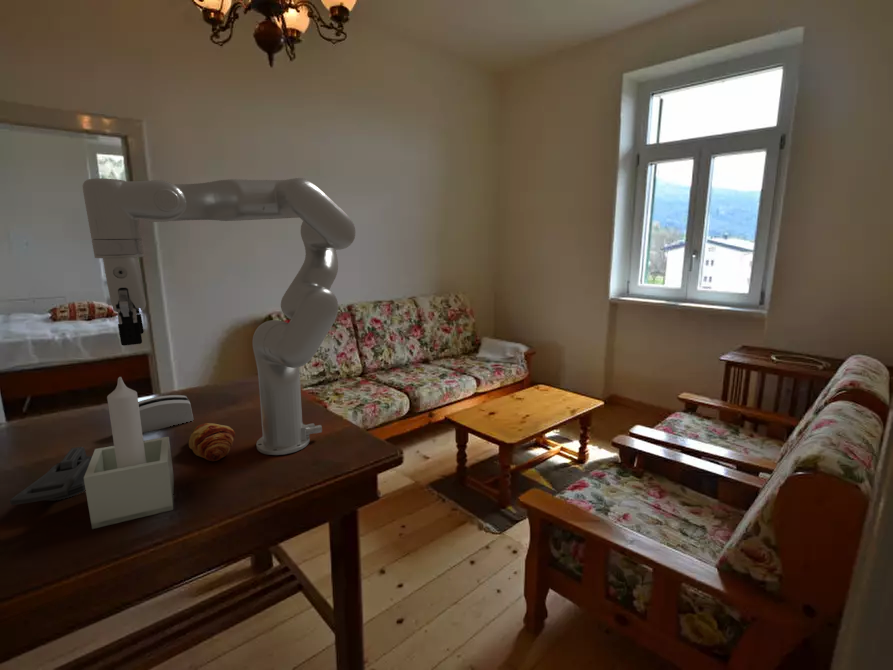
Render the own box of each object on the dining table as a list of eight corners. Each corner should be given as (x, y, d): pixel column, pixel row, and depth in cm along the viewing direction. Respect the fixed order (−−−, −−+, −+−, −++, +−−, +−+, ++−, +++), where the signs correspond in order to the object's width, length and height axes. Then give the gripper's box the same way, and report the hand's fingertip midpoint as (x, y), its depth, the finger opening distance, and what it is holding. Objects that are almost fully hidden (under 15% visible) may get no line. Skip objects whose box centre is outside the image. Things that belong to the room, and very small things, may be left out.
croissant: (196, 447, 120) (177, 425, 116) (231, 423, 124) (213, 401, 120) (207, 481, 103) (185, 456, 99) (248, 452, 107) (227, 427, 103)
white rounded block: (189, 415, 132) (189, 387, 127) (194, 425, 129) (194, 397, 124) (119, 431, 121) (116, 401, 116) (123, 442, 118) (120, 412, 113)
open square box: (173, 479, 97) (168, 436, 95) (173, 509, 87) (167, 461, 85) (102, 494, 91) (95, 449, 89) (92, 529, 81) (83, 477, 79)
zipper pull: (2, 502, 77) (52, 442, 99) (9, 536, 79) (57, 470, 101) (68, 491, 81) (102, 435, 103) (74, 523, 82) (106, 462, 104)
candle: (125, 516, 83) (105, 385, 78) (107, 503, 87) (88, 378, 81) (165, 498, 89) (150, 375, 84) (147, 487, 93) (132, 369, 87)
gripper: (141, 250, 79) (155, 346, 83) (144, 247, 93) (156, 328, 97) (87, 251, 75) (104, 351, 79) (98, 248, 89) (113, 332, 93)
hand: (133, 339), depth 88 cm, fingers open, 9 cm apart
